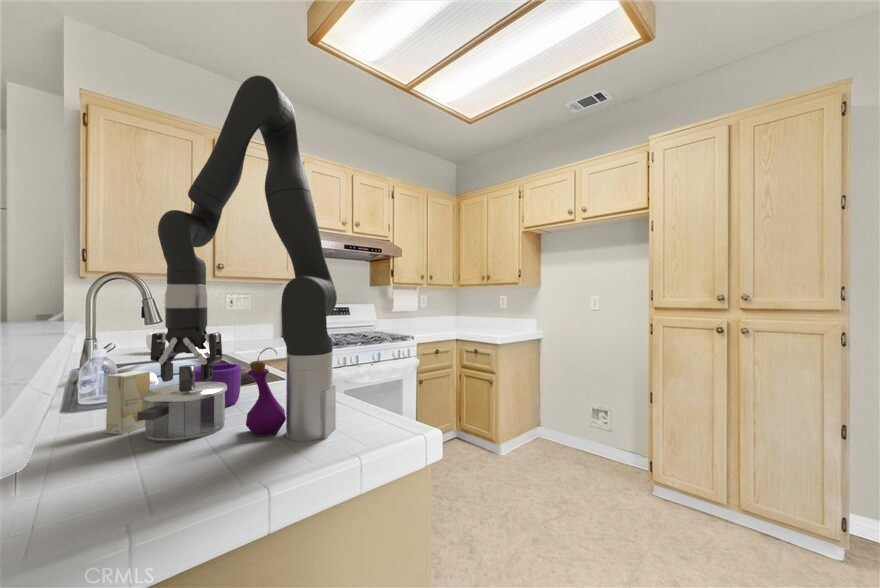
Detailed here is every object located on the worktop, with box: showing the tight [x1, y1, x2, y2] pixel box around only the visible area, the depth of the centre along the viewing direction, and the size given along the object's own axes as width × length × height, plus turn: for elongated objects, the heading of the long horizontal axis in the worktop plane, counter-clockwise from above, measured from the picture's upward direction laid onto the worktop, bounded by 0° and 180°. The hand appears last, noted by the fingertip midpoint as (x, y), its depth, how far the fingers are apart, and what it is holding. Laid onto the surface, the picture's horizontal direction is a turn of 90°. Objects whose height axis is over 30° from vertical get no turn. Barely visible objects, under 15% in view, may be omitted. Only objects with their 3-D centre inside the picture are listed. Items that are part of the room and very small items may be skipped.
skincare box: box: [105, 370, 151, 435], centre depth 82 cm, size 6×4×12 cm
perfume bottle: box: [245, 346, 286, 437], centre depth 81 cm, size 8×8×18 cm
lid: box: [143, 364, 227, 403], centre depth 81 cm, size 15×15×7 cm
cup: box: [145, 331, 169, 351], centre depth 192 cm, size 12×12×10 cm
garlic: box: [149, 371, 159, 386], centre depth 124 cm, size 8×7×4 cm
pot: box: [137, 392, 226, 444], centre depth 81 cm, size 14×22×8 cm, turn 177°
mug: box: [195, 363, 242, 408], centre depth 103 cm, size 17×11×10 cm, turn 44°
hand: (186, 381), depth 81 cm, fingers open, 8 cm apart
